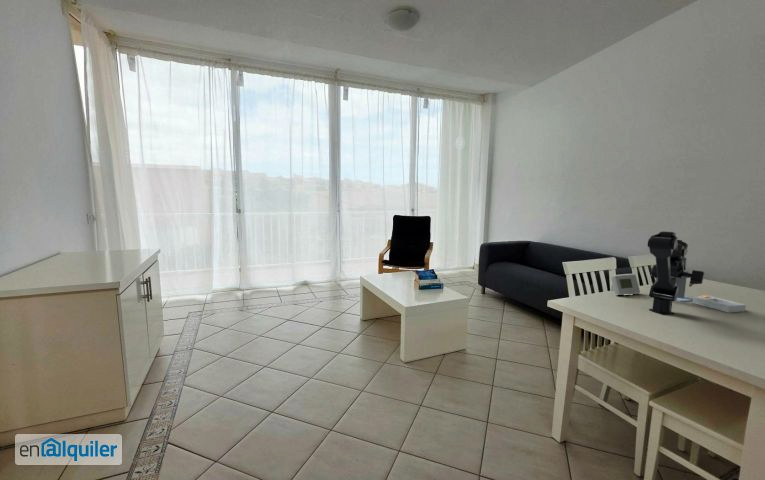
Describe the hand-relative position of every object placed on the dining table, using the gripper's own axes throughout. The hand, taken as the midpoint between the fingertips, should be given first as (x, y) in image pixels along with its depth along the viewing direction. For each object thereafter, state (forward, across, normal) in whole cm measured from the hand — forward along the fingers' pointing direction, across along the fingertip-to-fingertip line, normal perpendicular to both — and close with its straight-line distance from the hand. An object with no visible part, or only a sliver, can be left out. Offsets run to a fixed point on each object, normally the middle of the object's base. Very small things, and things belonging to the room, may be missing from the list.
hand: (677, 284), depth 160 cm
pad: (+10, 0, +2) cm, 10 cm away
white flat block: (+7, -14, +4) cm, 17 cm away
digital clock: (0, +19, +12) cm, 23 cm away
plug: (+9, 0, +2) cm, 9 cm away
